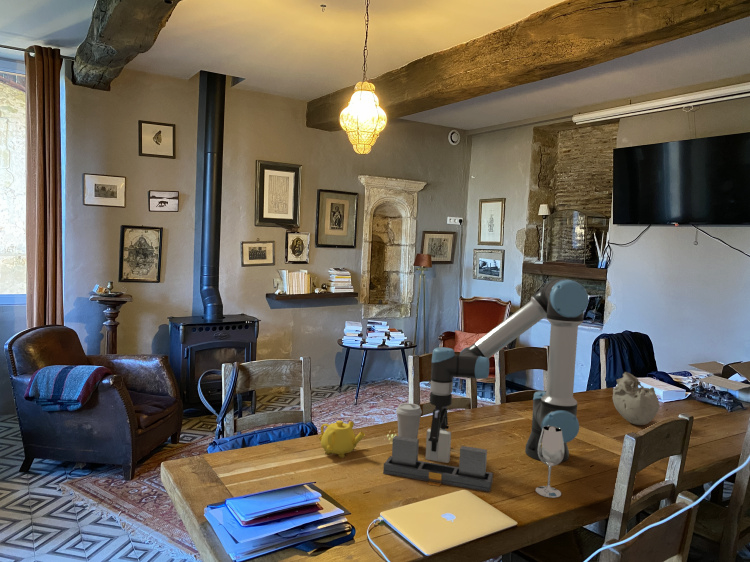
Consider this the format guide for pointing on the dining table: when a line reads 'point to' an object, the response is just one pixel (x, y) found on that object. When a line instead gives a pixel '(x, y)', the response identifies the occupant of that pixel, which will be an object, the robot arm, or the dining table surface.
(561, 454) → the wineglass
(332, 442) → the teapot
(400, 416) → the coffee cup
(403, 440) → the rack
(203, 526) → the dining table surface
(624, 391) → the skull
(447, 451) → the panel
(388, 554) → the dining table surface
